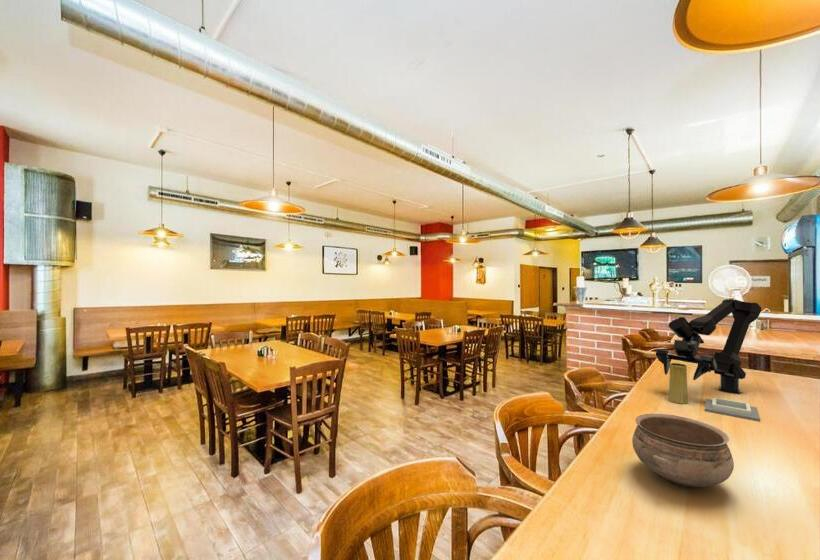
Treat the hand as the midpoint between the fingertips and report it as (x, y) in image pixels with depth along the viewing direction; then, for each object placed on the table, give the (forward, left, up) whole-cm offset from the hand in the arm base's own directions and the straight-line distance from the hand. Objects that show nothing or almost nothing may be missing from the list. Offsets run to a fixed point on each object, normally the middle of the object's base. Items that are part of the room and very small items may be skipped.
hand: (679, 376), depth 135 cm
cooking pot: (+67, +5, -9) cm, 68 cm away
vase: (+2, 0, -9) cm, 10 cm away
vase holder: (+1, +15, -9) cm, 17 cm away
